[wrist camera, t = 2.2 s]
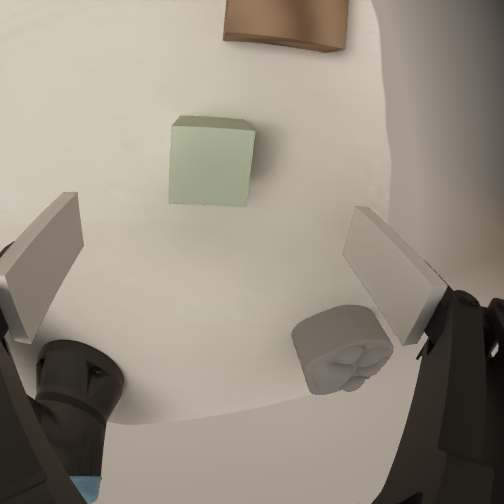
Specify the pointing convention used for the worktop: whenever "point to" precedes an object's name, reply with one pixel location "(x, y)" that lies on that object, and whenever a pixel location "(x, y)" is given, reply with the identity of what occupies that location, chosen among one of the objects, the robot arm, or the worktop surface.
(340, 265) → the worktop surface
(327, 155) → the worktop surface
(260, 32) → the walnut block
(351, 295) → the worktop surface
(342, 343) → the lumpy-topped squat cylinder
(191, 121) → the sage block
